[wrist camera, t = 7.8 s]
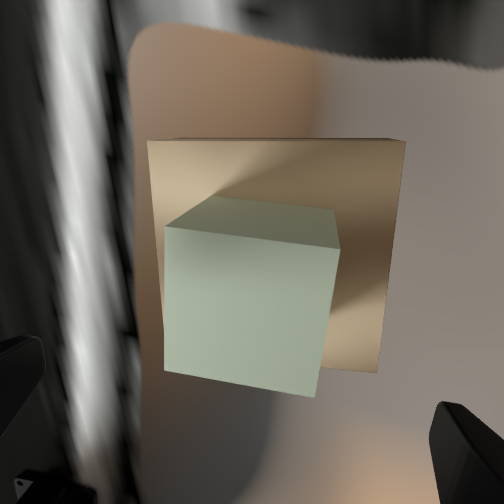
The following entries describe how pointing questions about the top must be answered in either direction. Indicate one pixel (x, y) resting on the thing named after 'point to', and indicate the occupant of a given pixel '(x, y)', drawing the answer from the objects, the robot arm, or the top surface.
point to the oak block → (303, 194)
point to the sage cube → (249, 292)
